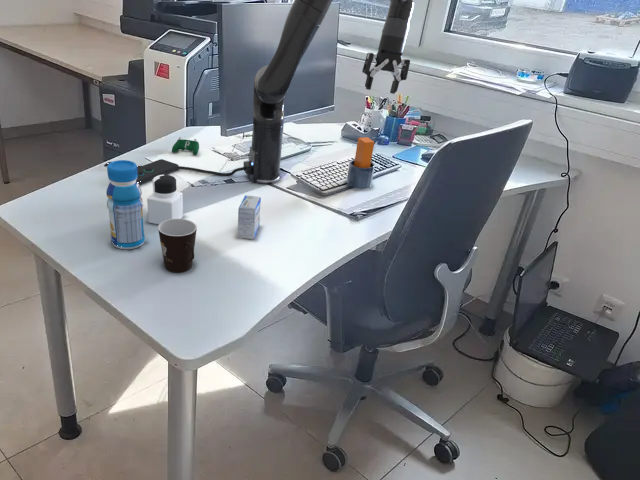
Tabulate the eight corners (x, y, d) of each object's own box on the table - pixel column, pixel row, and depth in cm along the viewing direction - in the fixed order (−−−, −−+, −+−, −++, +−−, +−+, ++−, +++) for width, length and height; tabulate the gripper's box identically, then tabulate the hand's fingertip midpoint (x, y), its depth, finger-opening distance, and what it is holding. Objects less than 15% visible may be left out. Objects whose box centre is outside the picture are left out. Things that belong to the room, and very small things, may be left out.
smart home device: (115, 174, 169) (160, 158, 183) (115, 180, 170) (161, 163, 184) (134, 182, 165) (179, 164, 179) (134, 187, 166) (179, 169, 180)
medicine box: (254, 240, 141) (256, 208, 137) (237, 237, 142) (238, 206, 137) (259, 226, 148) (261, 196, 143) (243, 224, 148) (244, 194, 144)
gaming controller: (198, 159, 194) (202, 143, 195) (196, 153, 190) (200, 137, 191) (173, 155, 195) (177, 140, 196) (170, 150, 191) (174, 135, 193)
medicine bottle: (183, 216, 151) (182, 174, 144) (172, 227, 145) (171, 184, 139) (159, 212, 153) (157, 170, 146) (147, 222, 147) (145, 179, 140)
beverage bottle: (129, 254, 133) (123, 174, 122) (103, 244, 136) (95, 165, 125) (152, 240, 139) (148, 163, 128) (126, 231, 142) (120, 155, 131)
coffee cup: (352, 190, 171) (356, 169, 167) (342, 181, 177) (345, 160, 173) (375, 189, 173) (379, 167, 169) (364, 179, 179) (368, 158, 175)
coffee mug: (160, 256, 132) (158, 218, 127) (196, 256, 133) (196, 218, 128) (158, 282, 123) (156, 242, 117) (197, 282, 124) (197, 242, 118)
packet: (357, 186, 172) (364, 142, 165) (351, 181, 176) (358, 137, 168) (366, 186, 173) (374, 142, 165) (360, 180, 177) (367, 137, 169)
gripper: (378, 31, 164) (364, 89, 170) (421, 39, 167) (405, 96, 174) (368, 31, 170) (355, 86, 177) (409, 38, 174) (395, 93, 181)
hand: (380, 91), depth 176 cm, fingers open, 8 cm apart
